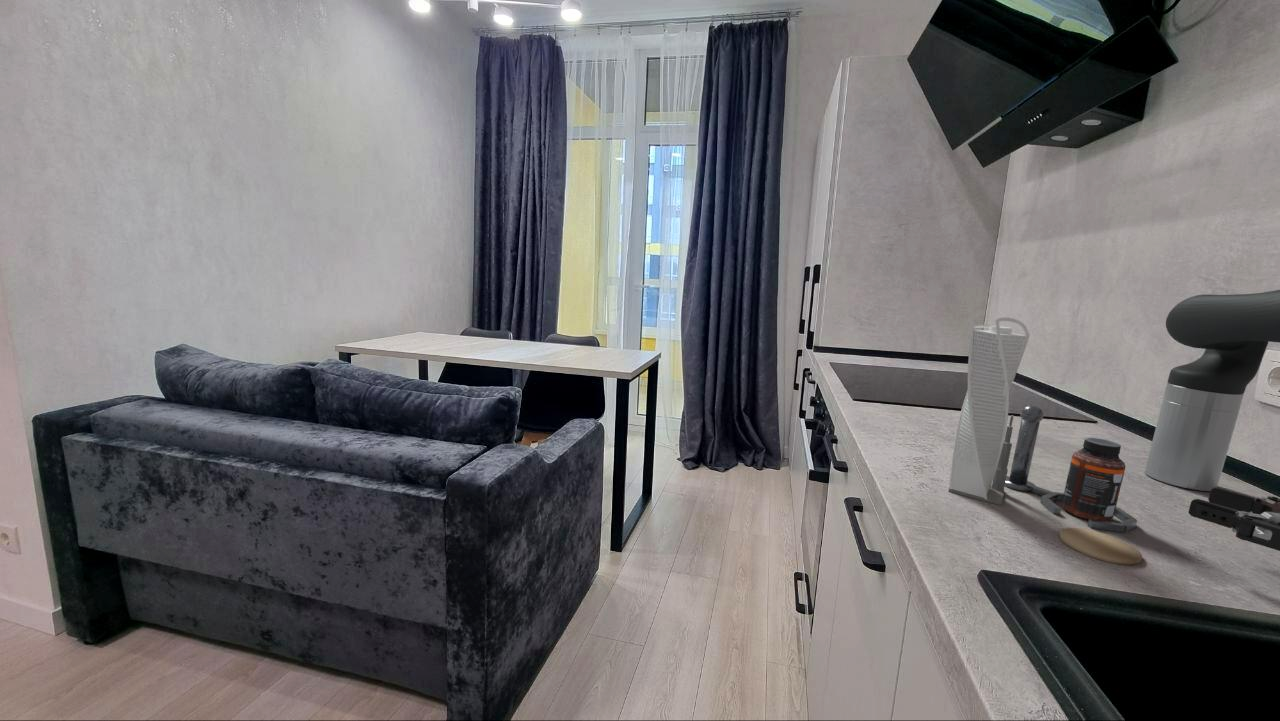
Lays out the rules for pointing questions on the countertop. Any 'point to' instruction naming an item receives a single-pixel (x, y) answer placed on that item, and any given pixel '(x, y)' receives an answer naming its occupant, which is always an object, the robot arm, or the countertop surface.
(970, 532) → the countertop surface
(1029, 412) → the ring holder
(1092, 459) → the supplement bottle
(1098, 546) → the coaster
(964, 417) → the skyscraper
